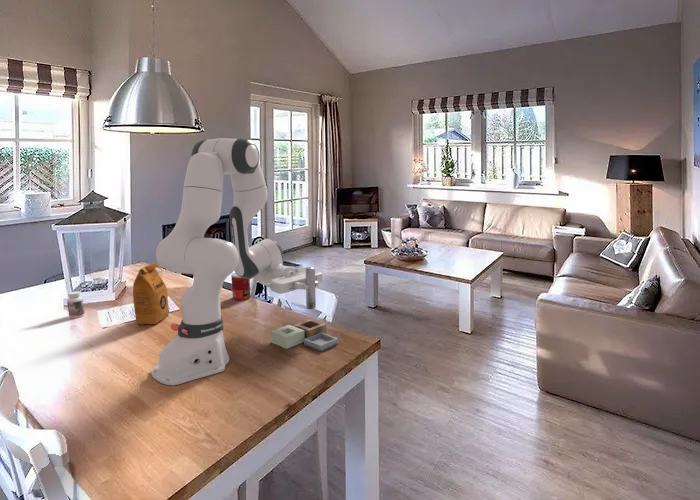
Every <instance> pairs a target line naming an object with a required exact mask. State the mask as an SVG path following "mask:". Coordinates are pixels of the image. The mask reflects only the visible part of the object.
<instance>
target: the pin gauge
mask: <svg viewBox="0 0 700 500" xmlns="http://www.w3.org/2000/svg"><path fill="white" fill-rule="evenodd" d="M315 270H316V268H315V267H313V266H308V267H306V284H309V289H307V290H305V302H306V304H305V306H306V309H307V310H314V309H316V307H317V305H316V302H317V300H316V298H317V297H316V287H315Z"/></svg>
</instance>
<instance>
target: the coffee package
mask: <svg viewBox="0 0 700 500" xmlns="http://www.w3.org/2000/svg"><path fill="white" fill-rule="evenodd" d="M158 267H159V264H158V262H153V263H151V264H148V265H145V266H143V267H142V268H140V269H139V270H138V273H137V275H136V277H135V279H134V282H133V285H132V296H133V298H132V299H133V301H132V302H133V307H134V309H133V310H134V313H135V323H136V325H138V326H139V325H140V326H141V325H156V324H158V323H159V322H160V321H162V320H164V319H165V318H166V317H168V316H169V314H170V307H169V306H170V305H169V299H168V297H169V296H168V289H167V285H166V283H165V281H164V280H163V278H162V277H161V276H160V275H159V273H158V270H157V269H156V268H158Z"/></svg>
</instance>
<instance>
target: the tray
mask: <svg viewBox="0 0 700 500" xmlns="http://www.w3.org/2000/svg"><path fill="white" fill-rule="evenodd" d="M303 343H304V344H303V345H304V346H305V347H309V348H311V349H313V350H316V351H319V352H324V351H325V350H327V349H330V348H332V347H334V346H337V345H339V338H338V337H336V336H332V335H330V334H328V333H327V334H325V333H322V332H321V333H318V334H316V335H313V336H311V337H308V338H306V339H304V342H303Z"/></svg>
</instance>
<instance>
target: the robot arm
mask: <svg viewBox="0 0 700 500" xmlns="http://www.w3.org/2000/svg"><path fill="white" fill-rule="evenodd" d="M262 169H263V168H262V167H261V164H260V151H259V148H258V147H257V145H256V144H255V143H254V142H253V141H252V140H251V139H248V138H227V137H218V138H211V139H208V138H207V139H202V140H199V141H198V142H196V143H195V144H194V146H193V148H192V151H191V157H190V158H189V161H188V164H187V168H186V172H185V177H184V183H183V191H182V200H181V206H180V213H179V216H178V218H177V221H176V224H175V226H173V227H174V228H172V231H171V232H170V233H169V234H168V235H167V236H166V237H164V238H163V239H162V240H160V242H159V243H158V245H157V247H156V251H155V257H156V263H157V265H158V266H159V267H161V268H162V269H164V270H167V271H169V272H173V273H177V274H185V275H186V274H189V275H193V284H192V286H190V287H187V288H186V289H185V291H183V293H182V294H181V296H180V305H181V315H182V316H181V317H182V319H181V321H180V324H179V323H176V322H173V323H171V324H170V329H171V330H173V331H177V334H176V335H175V336H174V338H172V340H170V342H169V343H168V344H166V346H165V347H163V349H162V350H161V351H160V353H159V357H158V364H157V365H155V366H153V367H152V368H151V370H150V373H151V374H150V375H151V377H152V378H153V379H154V380H155V381H157V382H159V383H161V384H163V385H166V386H167V385H168V386H178V385H180V384H181V385H182V384H185V383H188V382H190V381H194V380H198V379H201V378H205V377H208V376H212V375H215V374H218V373H221V372H224V371H225V369H226V365H227V364H229V361H230V356H229V354H228V351H227V348H226V344H225V338H224V318H223V316H222V313H221V312H222V311H221V293H222V289H223V288H222V287H223V286H224V285H223V284H224V283H225V281H226V279H228V277H229V276H230V275H232V274H233V272H234V273H236V274H237V275H238V276H240V277H242V278H246V279H250V280H251V279H254V280H255V282H257V283H259V284H261V285H263V286H265V287H266V288H269V289H270V291H271V292H274V293H275V294H278V295H279V294H285V293H286V294H287V293H289V292H292V291H293V292H294V291H297V290H304V291H306V290H307V289H309V284H306V268H307V267H306V266H305V265H304V266H303V265H302V266H299V265H298V266H291V265H290V266H289V265H284V252H283V248H282V247H281V245H280V244H279V243H278V242H277V241H276V240H274V239H271V238H268V237H267V238H265V239H263V240H260V241H257V243H255V244H253V245H251V246H249V238H248V228H249V224H250V223H251V221H252V220H253V219H254V218H255V216H256V215H257V214H258V213H259V212H260V211H261V210H262V209H263V208H264V206H265V205H266V203H267V201H268V189H267V184H266V179H265V177H264V173H263V170H262ZM224 175H227V176H228V175H230V176H229V177H230V182H231V187H232V191H233V204H232V207H231V209H230V211H229V227H230V236H231V242H230V241H227V240H225V239H221V238H213V237H205V235H206V233H207V231H208V229H209V228H210V226H212V225H214V224H216V223H218V221H219V219H220V218H221V216H222V215H221V214H222V205H223V194H224ZM322 283H323V273H322V272H321V271H318V270H316V269H315V288H316V287H319V286H320V285H319V284H322Z"/></svg>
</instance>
